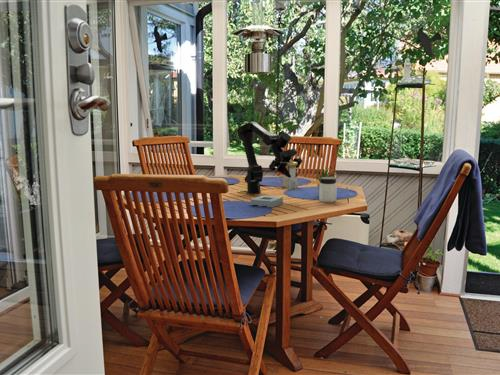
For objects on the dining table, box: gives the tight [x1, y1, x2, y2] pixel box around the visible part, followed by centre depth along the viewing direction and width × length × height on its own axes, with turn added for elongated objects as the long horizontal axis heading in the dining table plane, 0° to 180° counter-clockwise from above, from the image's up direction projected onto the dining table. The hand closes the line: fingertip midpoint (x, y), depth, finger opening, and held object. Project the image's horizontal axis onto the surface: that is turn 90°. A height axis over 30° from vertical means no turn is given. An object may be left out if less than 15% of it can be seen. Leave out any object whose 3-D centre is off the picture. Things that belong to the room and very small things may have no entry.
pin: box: [286, 162, 297, 191], centre depth 243 cm, size 6×6×14 cm
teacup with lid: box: [277, 172, 298, 189], centre depth 290 cm, size 12×9×12 cm
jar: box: [318, 176, 338, 203], centre depth 246 cm, size 9×8×12 cm
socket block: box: [250, 195, 284, 208], centre depth 239 cm, size 12×12×3 cm
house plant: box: [314, 166, 338, 194], centre depth 259 cm, size 14×14×16 cm
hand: (293, 176), depth 242 cm, fingers closed on pin, 4 cm apart
